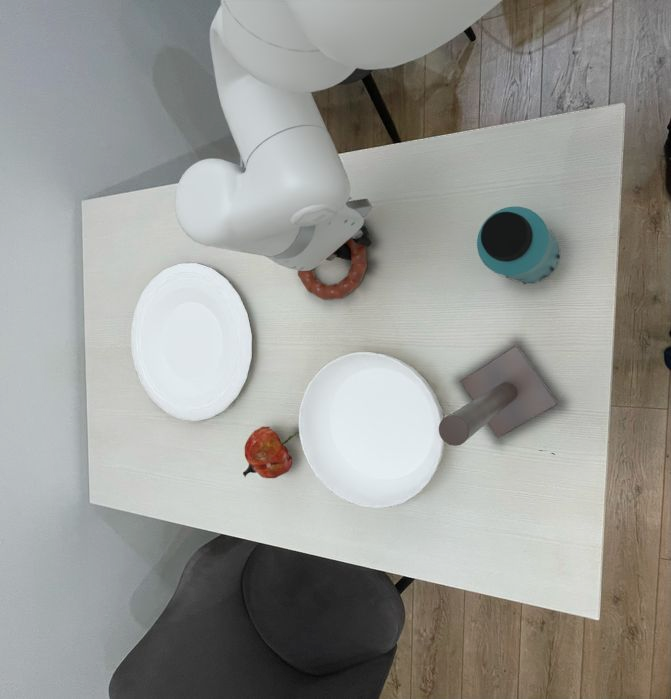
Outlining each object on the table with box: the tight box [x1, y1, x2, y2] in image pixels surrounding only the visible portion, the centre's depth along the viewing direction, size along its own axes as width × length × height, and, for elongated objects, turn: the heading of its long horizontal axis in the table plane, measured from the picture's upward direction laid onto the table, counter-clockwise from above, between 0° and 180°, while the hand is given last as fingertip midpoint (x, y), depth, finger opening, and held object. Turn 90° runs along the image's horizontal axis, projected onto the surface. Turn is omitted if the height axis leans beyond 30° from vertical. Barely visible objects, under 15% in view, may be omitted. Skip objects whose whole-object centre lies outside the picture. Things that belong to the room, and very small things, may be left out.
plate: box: [130, 262, 254, 422], centre depth 86 cm, size 25×25×2 cm
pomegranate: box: [242, 426, 299, 479], centre depth 77 cm, size 7×7×10 cm
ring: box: [297, 238, 368, 301], centre depth 73 cm, size 10×10×2 cm
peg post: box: [439, 344, 559, 447], centre depth 53 cm, size 8×8×25 cm
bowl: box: [298, 351, 446, 509], centre depth 69 cm, size 20×20×6 cm
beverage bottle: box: [476, 205, 562, 285], centre depth 54 cm, size 6×7×20 cm
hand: (355, 242), depth 72 cm, fingers closed on ring, 2 cm apart
